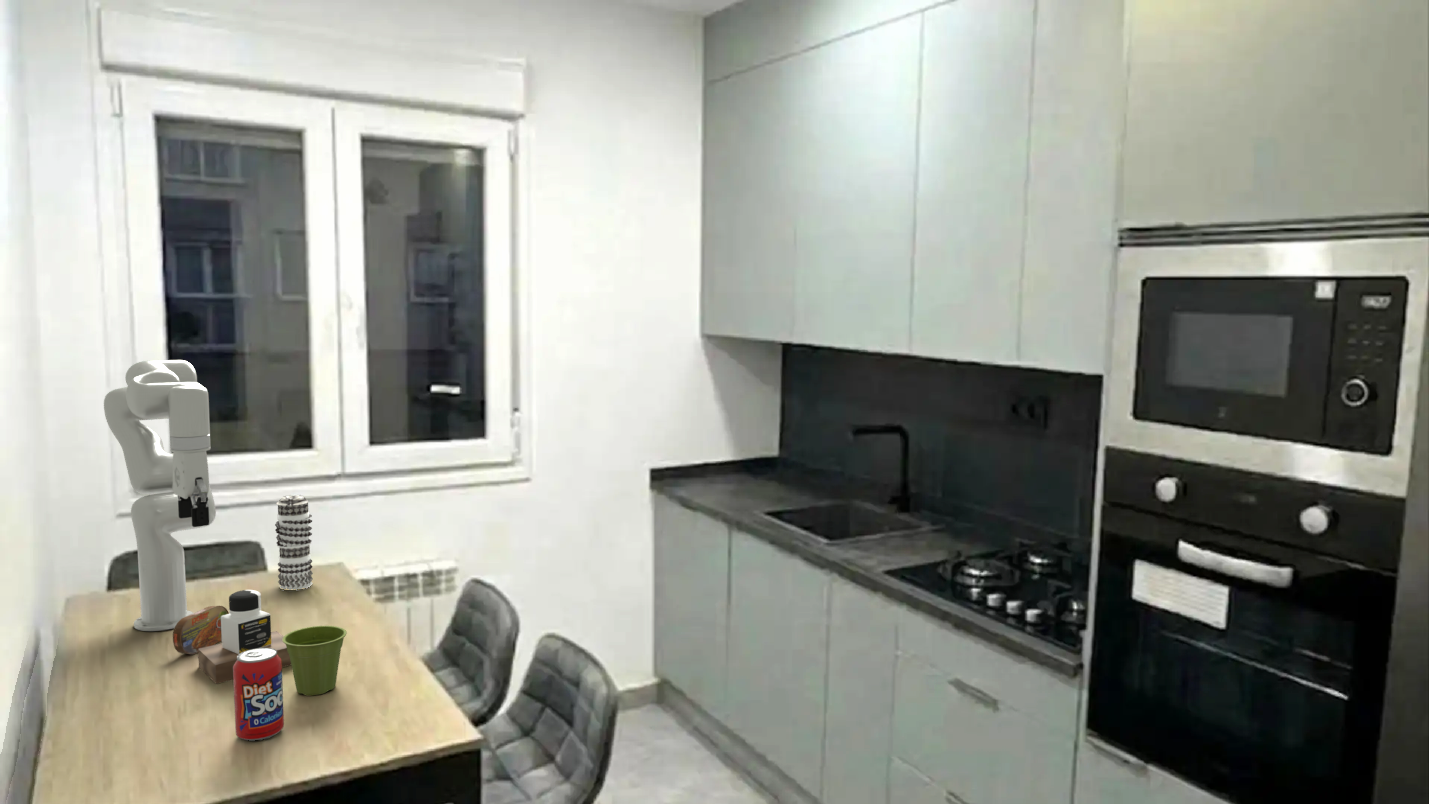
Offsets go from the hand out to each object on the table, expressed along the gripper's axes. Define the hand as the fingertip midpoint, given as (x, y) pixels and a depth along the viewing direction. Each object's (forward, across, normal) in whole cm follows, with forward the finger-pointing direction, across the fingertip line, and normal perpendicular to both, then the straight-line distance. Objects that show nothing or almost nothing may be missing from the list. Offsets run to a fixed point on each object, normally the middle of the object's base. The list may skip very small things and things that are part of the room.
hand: (193, 521), depth 200 cm
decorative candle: (+31, -37, +34) cm, 59 cm away
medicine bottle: (+26, +13, +6) cm, 30 cm away
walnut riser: (+30, +13, +6) cm, 33 cm away
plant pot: (+30, +35, +12) cm, 48 cm away
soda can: (+30, +48, -3) cm, 57 cm away
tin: (+30, -5, +2) cm, 31 cm away
